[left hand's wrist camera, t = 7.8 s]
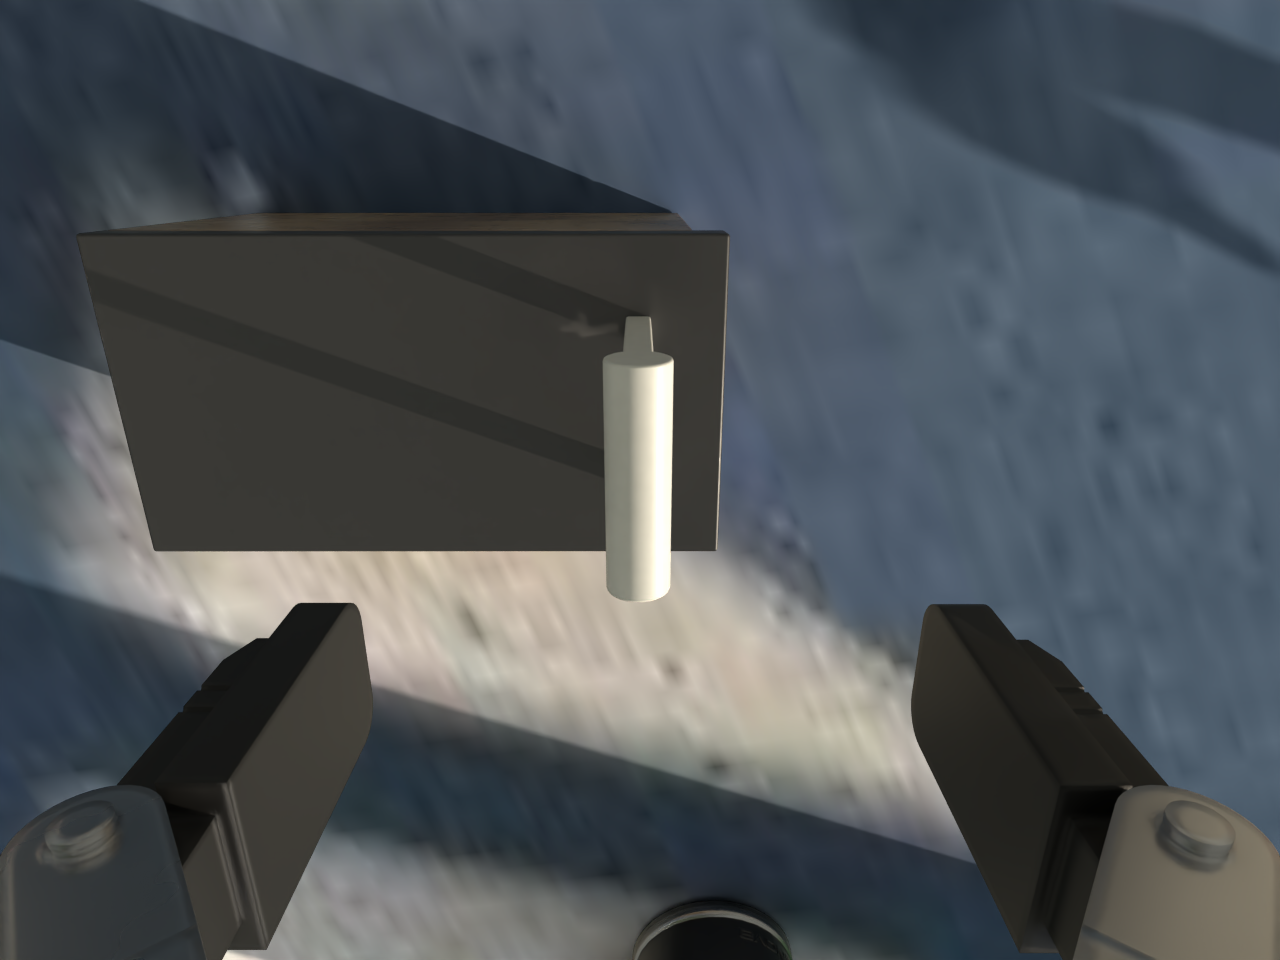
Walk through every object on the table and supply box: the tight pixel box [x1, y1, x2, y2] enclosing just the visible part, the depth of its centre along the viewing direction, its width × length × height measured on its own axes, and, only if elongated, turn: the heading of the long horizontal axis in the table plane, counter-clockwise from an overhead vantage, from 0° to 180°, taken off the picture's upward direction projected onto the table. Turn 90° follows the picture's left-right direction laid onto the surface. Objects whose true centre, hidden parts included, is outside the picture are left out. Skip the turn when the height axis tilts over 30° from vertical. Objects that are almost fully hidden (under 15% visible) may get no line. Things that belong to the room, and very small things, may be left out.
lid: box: [76, 231, 730, 602], centre depth 21 cm, size 18×10×8 cm, turn 90°
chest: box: [108, 213, 693, 231], centre depth 29 cm, size 17×10×10 cm, turn 90°
